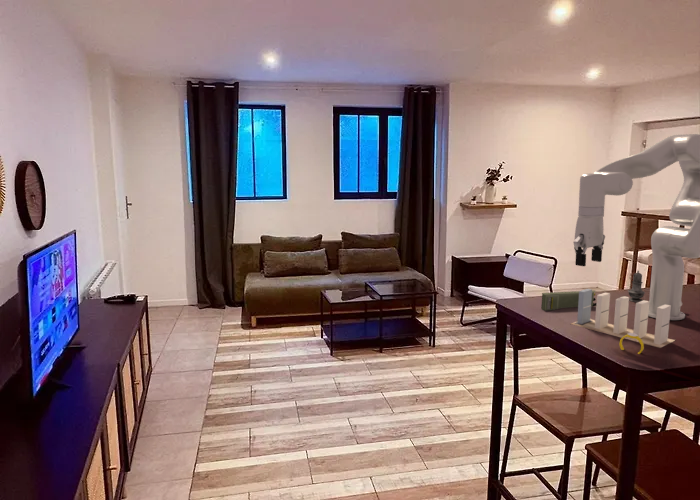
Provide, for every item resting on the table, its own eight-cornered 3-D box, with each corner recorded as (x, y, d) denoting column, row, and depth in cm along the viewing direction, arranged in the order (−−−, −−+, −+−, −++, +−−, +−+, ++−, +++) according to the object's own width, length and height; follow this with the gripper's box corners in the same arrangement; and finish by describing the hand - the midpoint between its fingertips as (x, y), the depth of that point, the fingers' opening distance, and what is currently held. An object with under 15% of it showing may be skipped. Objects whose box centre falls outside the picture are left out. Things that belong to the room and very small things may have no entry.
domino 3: (613, 332, 158) (615, 299, 156) (621, 329, 161) (623, 296, 159) (618, 334, 157) (621, 300, 155) (626, 330, 160) (629, 297, 158)
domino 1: (590, 321, 170) (592, 289, 168) (581, 324, 167) (583, 292, 165) (585, 319, 171) (587, 288, 169) (577, 322, 168) (579, 291, 166)
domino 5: (653, 343, 149) (656, 307, 147) (661, 339, 152) (664, 304, 150) (659, 344, 147) (663, 308, 145) (667, 340, 150) (671, 305, 148)
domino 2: (594, 327, 163) (596, 295, 161) (602, 324, 166) (605, 292, 164) (599, 329, 162) (602, 296, 160) (607, 325, 165) (610, 293, 163)
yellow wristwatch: (643, 356, 142) (646, 336, 141) (640, 358, 140) (643, 339, 139) (620, 349, 146) (623, 330, 145) (617, 351, 144) (620, 332, 143)
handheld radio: (540, 309, 188) (602, 305, 190) (544, 312, 185) (608, 308, 187) (541, 292, 187) (604, 289, 189) (545, 294, 183) (609, 291, 186)
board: (585, 320, 173) (586, 317, 173) (675, 342, 151) (675, 339, 151) (569, 326, 168) (569, 323, 167) (660, 350, 145) (660, 347, 145)
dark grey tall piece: (646, 302, 192) (649, 272, 190) (630, 302, 194) (632, 272, 192) (641, 298, 198) (643, 269, 196) (625, 298, 199) (627, 268, 197)
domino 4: (632, 337, 153) (635, 303, 152) (640, 334, 156) (643, 300, 155) (638, 339, 152) (641, 304, 150) (646, 335, 155) (649, 301, 153)
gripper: (594, 208, 170) (591, 258, 173) (565, 213, 160) (563, 265, 163) (616, 210, 164) (613, 261, 167) (587, 215, 154) (585, 269, 157)
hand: (588, 263), depth 165 cm, fingers open, 9 cm apart
